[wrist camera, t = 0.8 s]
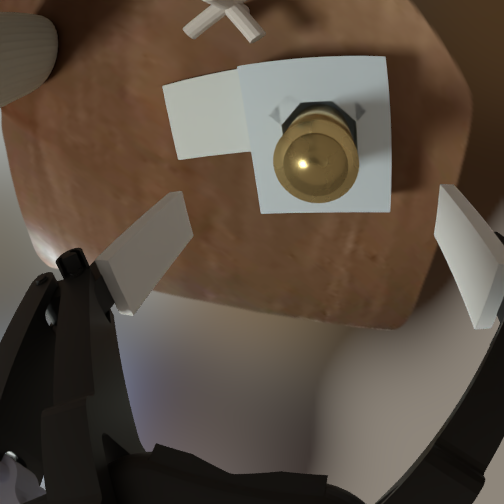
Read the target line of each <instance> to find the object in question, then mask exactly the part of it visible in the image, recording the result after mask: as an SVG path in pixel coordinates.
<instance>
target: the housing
mask: <svg viewBox="0 0 504 504" xmlns="http://www.w3.org/2000/svg"><path fill="white" fill-rule="evenodd" d="M237 69H238V74H239V80H240V86H241V92H242V98H243V104H244V110H245V116H246V122H247V128H248V134H249V140H250V147H251V153H252V159H253V165H254V172H255V178H256V184H257V191H258V197H259V204H260V210H261V214H268V213H312V212H390V204H391V169H392V150H391V116H390V99H389V86H388V75H387V66H386V57H385V56H329V57H311V58H298V59H287V60H278V61H270V62H262V63H255V64H249V65H243V66H237ZM315 104H325V105H329V106H331V107H334V108H335V109H337V110H338V111H339V112H340V113H341V114H342V115H343V116H344V118H345V119H346V121H347V124H348V127H349V129H350V132H351V135H352V138H353V141H354V143H355V146H356V149H357V152H358V156H359V172H358V176H357V179H356V181H355V183H354V184H353V186H352V187H351V189H350V190H349V191H348V192H347V193H346V194H344V195H343V196H341V197H340V198H338V199H336V200H334V201H331V202H326V203H310V202H306V201H303V200H300V199H298V198H296V197H294V196H293V195H291V194H290V193H289V192H287V191H286V190H285V189H284V187H283V186H282V185H281V184H280V182H279V181H278V179H277V176H276V174H275V171H274V166H273V155H274V150H275V147H276V145H277V143H278V141H279V139H280V138H281V137H282V135H283V134H284V133H285V131H286V130H287V129H288V127H289V126H290V125H291V124H292V122H293V121H294V120H295V118H296V117H297V116H298V115H299V113H300V112H301V111H302V110H303V109H305V108H307V107H308V106H311V105H315Z"/></svg>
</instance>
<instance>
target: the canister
mask: <svg viewBox="0 0 504 504" xmlns="http://www.w3.org/2000/svg"><path fill="white" fill-rule="evenodd" d="M57 52H58V35H57V31H56V29H55V26H54V25H53V23H52V22H51V21H50V20H49V19H48V18H45V17H44V16H41V15H35V14H27V13H15V12H0V108H1V107H3V106H5V105H7V104H9V103H11V102H13V101H15V100H17V99H19V98H21V97H23V96H25V95H27V94H29V93H31V92H33V91H34V90H36V89H37V88H39V87H40V86H41V85H42V84H43V83H44V82H45V80H46V79H47V78H48V76H49V75H50V73H51V71H52V69H53V67H54V64H55V60H56V58H57Z"/></svg>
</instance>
